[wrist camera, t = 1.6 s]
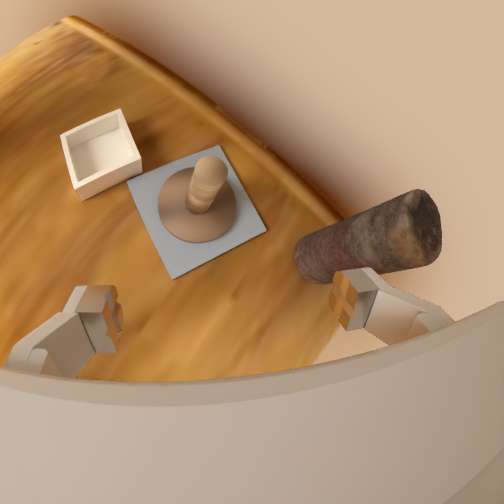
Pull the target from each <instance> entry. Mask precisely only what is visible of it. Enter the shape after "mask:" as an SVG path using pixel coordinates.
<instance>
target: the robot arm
mask: <svg viewBox="0 0 504 504" xmlns="http://www.w3.org/2000/svg"><path fill="white" fill-rule="evenodd" d="M333 282H334V284H335V285H334V287H333V288H332V289H331V290H330V295H329V303H330V307H331V309H332V311H333V312H334V313H335V314H337V315H339V316H340V317H339V321H340V323H341V324H342V326H343V327H344V329H345V330H346V331H350V330H355V329H361V328H364V329H365V330H367V331H368V332H370V333H371V334H373V335H375V336H376V337H377V338H379V339H380V340H382V341H383V342H385V343H386V344H388V345H389V346H387V347H383V348H380V349H377V350H374V351H370V352H366V353H362V354H358V355H355V356H351V357H346V358H342V359H339V360H334V361H329V362H325V363H320V364H315V365H310V366H305V367H300V368H294V369H289V370H283V371H277V372H270V373H263V374H256V375H249V376H240V377H231V378H221V379H209V380H194V381H172V382H124V381H102V380H88V379H77V378H76V376H77V375H78V374H79V373H80V372H81V371H82V369H83V368H84V367H85V366H86V365H87V364H88V362H89V361H90V360H91V359H92V358H93V357H94V356H95V354H96V353H117V351H118V346H119V342H120V338H119V335H118V334H119V333H120V332H121V331H122V328H123V312H122V308H121V305H120V304H119V303H118V302H117V301H116V300H117V297H118V294H117V290H116V287H115V286H114V285H90V286H89V285H82V286H76V287H75V289H74V291H73V292H72V294H71V296H70V298H69V300H68V302H67V304H66V306H65V308H64V310H63V311H62V313H57V314H56V315H54V316H53V317H51V318H50V319H49V320H47V321H46V322H44V323H43V324H42V325H40V326H39V327H37V328H36V329H35V330H33V331H32V332H31V333H29V334H28V335H27V336H25V337H24V338H23V339H21V340H20V341H19V342H17V343H16V344H15V345H14V347H13V349H12V351H11V353H10V355H9V357H8V359H7V361H6V363H5V366H4V367H3V366H0V504H504V301H500V302H497V303H495V304H494V305H491V306H490V307H487V308H485V309H483V310H481V311H479V312H477V313H475V314H472V315H470V316H468V317H466V318H463V319H461V320H459V321H456V322H455V321H454V320H453V319H452V318H451V317H450V316H449V315H448V314H447V313H446V312H445V311H444V310H443V309H442V308H441V307H440V306H437V305H435V304H432V303H430V302H428V301H425V300H423V299H421V298H419V297H416V296H414V295H411V294H409V293H407V292H404V291H402V290H399V289H397V288H395V287H392V288H391V287H390V286H389V285H388V284H387V283H386V282H385V281H384V280H383V279H382V278H381V277H380V276H379V275H378V274H377V273H376V272H375V271H374V270H373V269H372V268H370V267H364V268H358V269H350V270H342V271H336V272H335V274H334V277H333Z"/></svg>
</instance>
